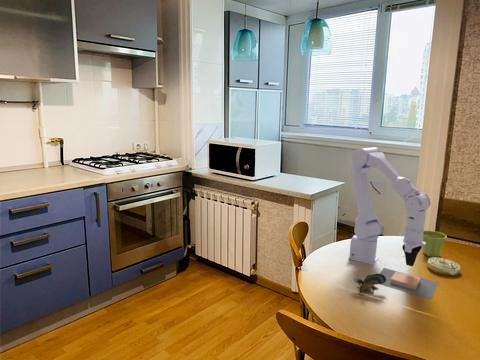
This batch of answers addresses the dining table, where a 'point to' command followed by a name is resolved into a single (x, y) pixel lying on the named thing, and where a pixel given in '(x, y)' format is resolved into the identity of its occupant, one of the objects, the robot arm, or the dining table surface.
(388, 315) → the dining table surface
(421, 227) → the robot arm
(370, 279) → the eagle figurine
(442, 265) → the decorated donut
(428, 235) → the plant pot
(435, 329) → the dining table surface
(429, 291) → the mat
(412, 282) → the tile
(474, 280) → the dining table surface
